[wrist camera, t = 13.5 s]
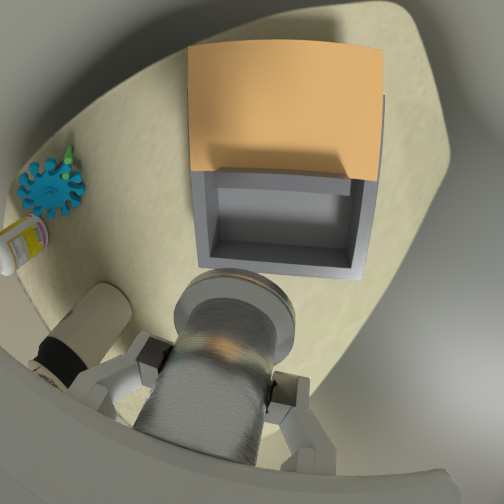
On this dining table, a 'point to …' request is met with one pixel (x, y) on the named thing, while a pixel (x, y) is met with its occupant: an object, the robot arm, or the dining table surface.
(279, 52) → the lid
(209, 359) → the silver rounded cylinder
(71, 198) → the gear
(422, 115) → the dining table surface
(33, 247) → the supplement bottle
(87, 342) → the travel mug
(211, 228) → the housing
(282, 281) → the dining table surface
